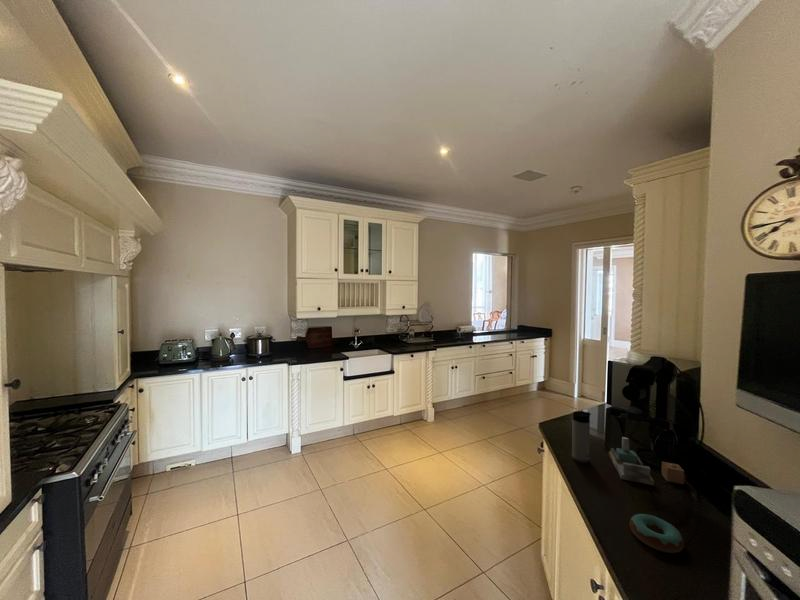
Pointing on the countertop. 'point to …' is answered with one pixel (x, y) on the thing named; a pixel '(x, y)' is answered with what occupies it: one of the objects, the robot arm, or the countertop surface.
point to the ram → (626, 452)
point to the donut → (656, 533)
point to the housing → (673, 472)
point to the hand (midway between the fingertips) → (637, 440)
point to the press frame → (631, 469)
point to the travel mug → (580, 436)
